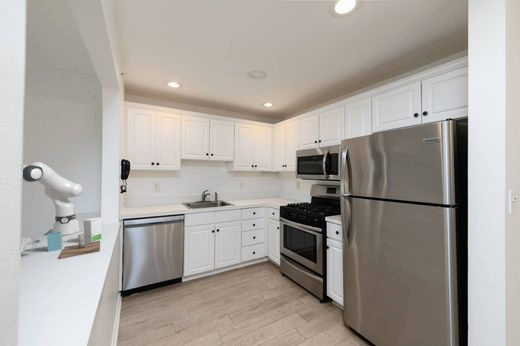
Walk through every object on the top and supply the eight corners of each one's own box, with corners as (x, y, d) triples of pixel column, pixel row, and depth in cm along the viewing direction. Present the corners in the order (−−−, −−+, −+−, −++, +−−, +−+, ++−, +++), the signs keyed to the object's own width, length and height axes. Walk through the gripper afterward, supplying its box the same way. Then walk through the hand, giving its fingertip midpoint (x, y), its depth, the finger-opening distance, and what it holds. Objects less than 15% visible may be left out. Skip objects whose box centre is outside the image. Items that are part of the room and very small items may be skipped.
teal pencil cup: (49, 248, 141) (49, 233, 141) (62, 246, 145) (61, 231, 144) (47, 251, 136) (47, 235, 136) (61, 249, 140) (60, 233, 139)
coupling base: (64, 249, 140) (64, 234, 140) (100, 242, 150) (99, 228, 150) (60, 258, 125) (59, 242, 125) (99, 251, 136) (98, 235, 135)
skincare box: (91, 243, 150) (90, 220, 149) (83, 242, 151) (82, 220, 150) (102, 239, 158) (101, 217, 157) (94, 238, 159) (93, 217, 159)
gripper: (-4, 248, 119) (33, 243, 127) (10, 238, 136) (41, 233, 144) (-3, 260, 120) (33, 253, 128) (11, 248, 136) (42, 243, 144)
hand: (37, 243), depth 136 cm, fingers open, 8 cm apart
